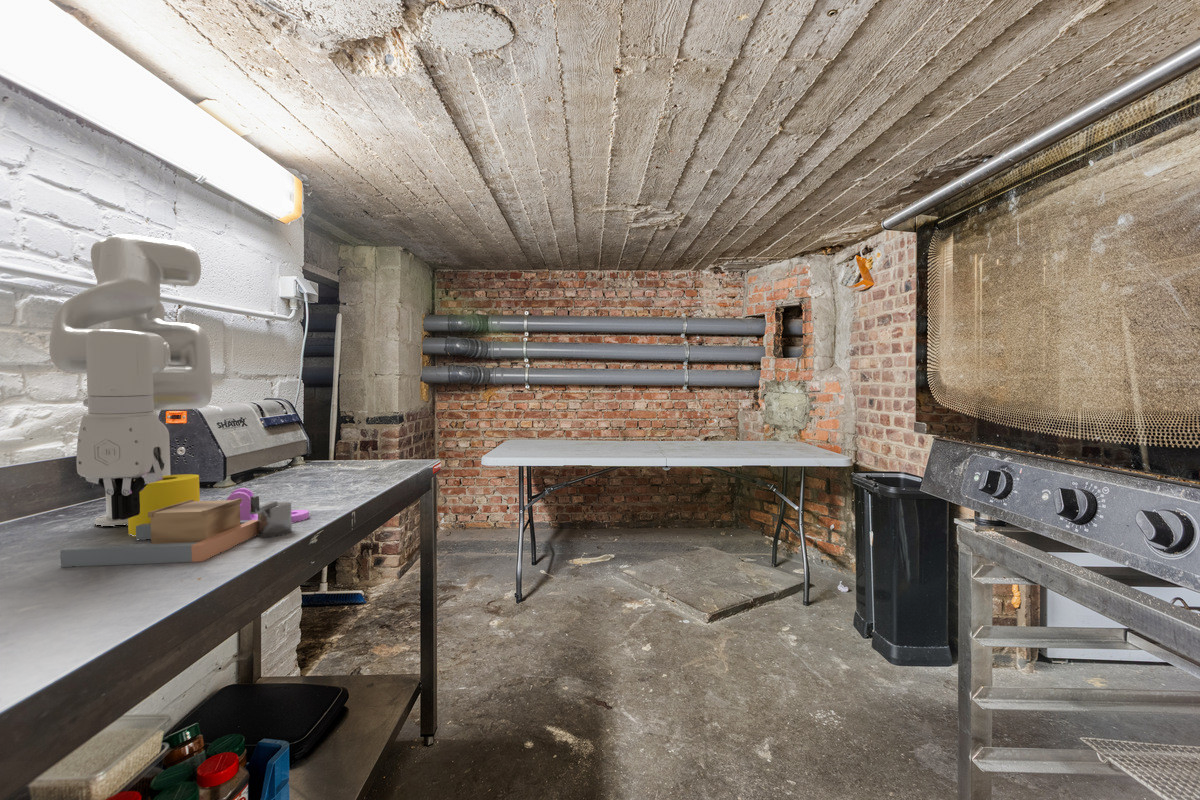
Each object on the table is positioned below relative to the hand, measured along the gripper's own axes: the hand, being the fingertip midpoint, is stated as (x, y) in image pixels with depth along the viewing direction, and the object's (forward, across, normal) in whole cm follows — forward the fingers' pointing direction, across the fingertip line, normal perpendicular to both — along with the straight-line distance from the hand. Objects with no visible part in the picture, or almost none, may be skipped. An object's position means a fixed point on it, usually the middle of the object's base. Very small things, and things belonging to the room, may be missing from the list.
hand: (126, 516), depth 78 cm
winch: (+5, +20, +4) cm, 21 cm away
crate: (+5, +12, -2) cm, 13 cm away
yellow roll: (+6, -3, +11) cm, 13 cm away
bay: (+5, +7, -2) cm, 9 cm away
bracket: (+6, +15, +13) cm, 21 cm away
